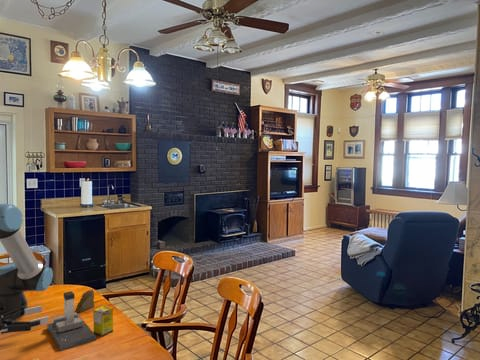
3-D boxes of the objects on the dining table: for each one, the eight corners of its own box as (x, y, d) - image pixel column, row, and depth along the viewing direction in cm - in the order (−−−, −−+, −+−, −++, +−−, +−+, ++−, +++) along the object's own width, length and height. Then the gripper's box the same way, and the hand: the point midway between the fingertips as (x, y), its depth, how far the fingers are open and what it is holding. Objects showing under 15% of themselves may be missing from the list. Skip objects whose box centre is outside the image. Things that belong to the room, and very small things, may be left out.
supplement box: (113, 331, 163) (113, 307, 162) (102, 336, 157) (102, 312, 157) (104, 328, 166) (104, 304, 165) (93, 333, 160) (93, 309, 160)
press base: (47, 328, 164) (46, 317, 164) (79, 320, 173) (79, 309, 173) (60, 350, 146) (60, 338, 146) (95, 339, 155) (95, 328, 155)
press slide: (55, 328, 160) (55, 294, 159) (79, 322, 166) (79, 289, 165) (58, 332, 156) (58, 297, 155) (82, 326, 162) (82, 292, 161)
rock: (76, 311, 178) (97, 304, 183) (72, 294, 181) (93, 288, 187) (75, 317, 186) (95, 310, 191) (71, 301, 189) (91, 295, 195)
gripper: (-19, 325, 151) (39, 312, 164) (-13, 350, 131) (52, 333, 145) (-19, 308, 150) (38, 296, 164) (-13, 330, 131) (51, 315, 145)
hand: (45, 313), depth 154 cm, fingers open, 13 cm apart
